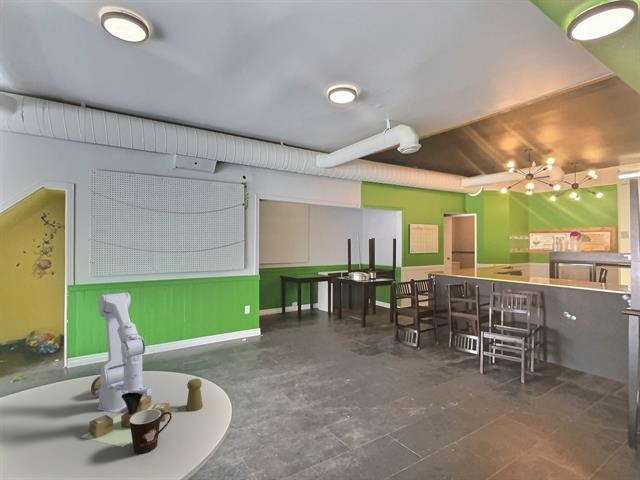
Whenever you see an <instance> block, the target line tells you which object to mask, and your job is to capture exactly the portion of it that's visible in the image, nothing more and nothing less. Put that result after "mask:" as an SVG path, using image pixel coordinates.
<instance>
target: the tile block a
mask: <svg viewBox="0 0 640 480" xmlns="http://www.w3.org/2000/svg"><path fill="white" fill-rule="evenodd" d="M88 423H89V430H88V431H89V432H88V433H89V434H91V435H92V436H94V437H95V438H99V437H101V436H103V435H105V434H107V433H110V432H112V431H113V418H112V417H110V416H109V415H107V414H104V415H103V416H99V417H97V418H95V419H93V420H89V422H88Z"/></svg>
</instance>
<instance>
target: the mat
mask: <svg viewBox="0 0 640 480" xmlns="http://www.w3.org/2000/svg"><path fill="white" fill-rule="evenodd" d="M154 405H155V404H152V403H151V407H149V408H148V409H147V410H149V409H152V408H153V406H154ZM178 410H179V409H178V408H173V407H169V412H170V413H171V415H172V414H174V413H176V412H177V411H178ZM127 411H128V409H127V410H126V411H123V412H122V413H120V414H119V415H117V416H115V417H113V418H112V419H113V431H112V432H110V433H107V434H105V435H103V436H101V437H99V438H95V437H94V436H92V435H91V434H89V432H87V433H85V434H83V435H81V436H80V438H83V439H87V440H91V441H96V442H100V443H104V444H108V445H112V446H116V447H119V448H120V447H121V448H125V446H127V445H128V444H130V443H132V434H131V428H121V416H122V415H123V414H125V413H126V412H127ZM168 417H170V415H168ZM161 422H162V421H160V423H161Z"/></svg>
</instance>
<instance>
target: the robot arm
mask: <svg viewBox="0 0 640 480" xmlns="http://www.w3.org/2000/svg"><path fill="white" fill-rule="evenodd" d="M131 299H132V298H131V295H130V293H129V292H128V291H126V292H120V293H119V292H118V293H110V294H109V293H108V294H101V295H100V296H99V298H98V313H99V316H100V317H103V318H104V320H105V324H106V325H105V326H106V339H107V340H106V341H107V355H108V357H107V358H108V359H107V360H106V361H105V362H103V364H102V365H101V367H100V373H99V376H100V381H101V385H102V386H101V388H100V390H99V397H98V407H96V410H100V411H105V412H109V413H115V414H116V413H117V412H119V411H121V410H123V409H124V408H126V409H127V410H128V412H129V414H134V413H135V412H137V409H138V405H139V402H140V400H141V398H142V396H143V395H145V396H151V394H152V393H153V391H152V390H153V389H152V388H151V387H149V386H148V385H146V384H143V355H144V354H145V352H146V342H145V340H144V338H143V337H142V336H141V335H139V332H138V329H137V327H136V324H135V323H134V322H131V319H130V315H129V309H130V306H131V303H132V301H131Z"/></svg>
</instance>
